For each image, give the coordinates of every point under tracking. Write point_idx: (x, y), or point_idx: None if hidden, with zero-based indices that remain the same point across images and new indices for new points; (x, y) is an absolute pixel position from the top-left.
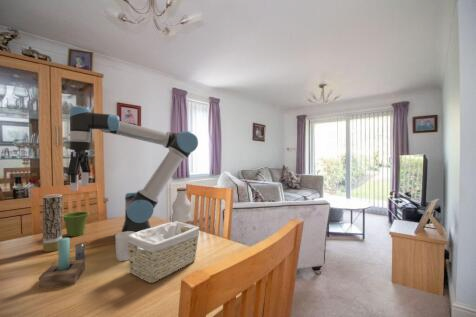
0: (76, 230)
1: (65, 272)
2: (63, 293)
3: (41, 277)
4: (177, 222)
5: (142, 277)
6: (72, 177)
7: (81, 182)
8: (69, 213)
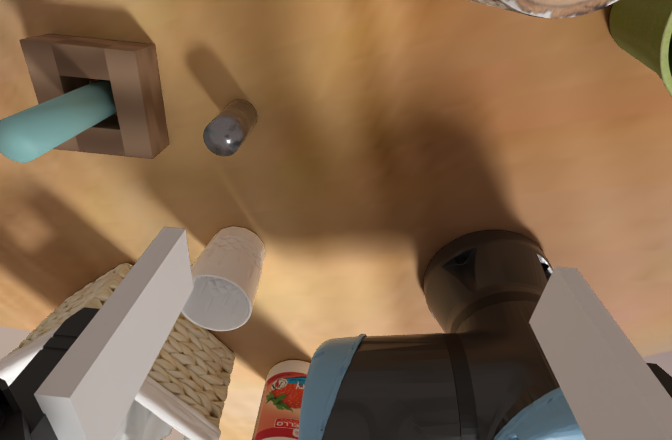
0: (622, 26)
1: None
2: None
3: (24, 48)
4: None
5: (84, 288)
6: (26, 389)
7: (577, 302)
8: None
